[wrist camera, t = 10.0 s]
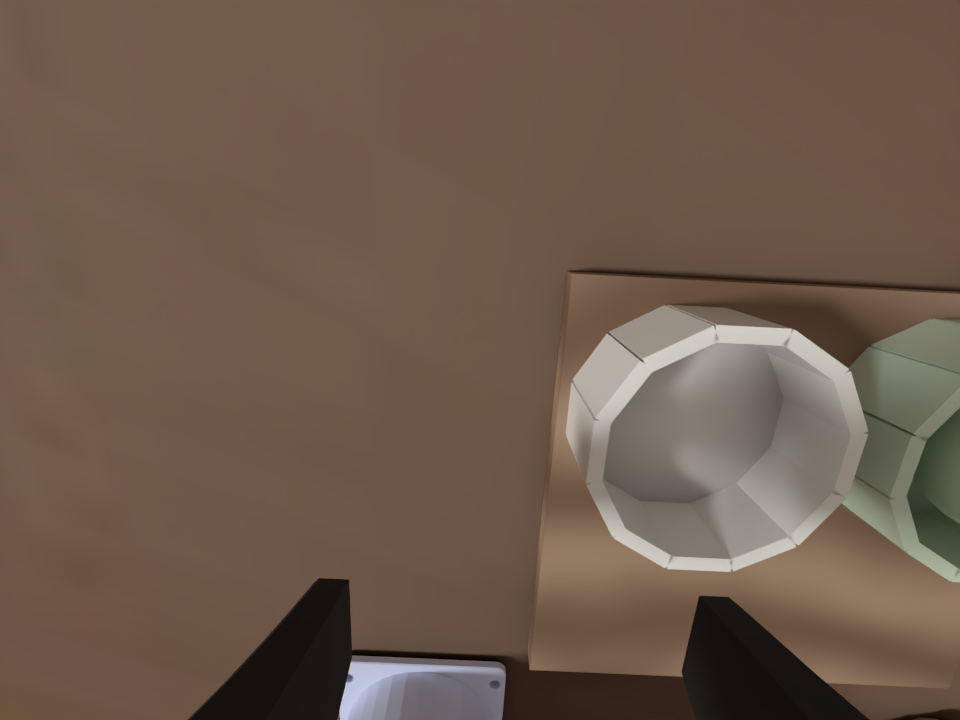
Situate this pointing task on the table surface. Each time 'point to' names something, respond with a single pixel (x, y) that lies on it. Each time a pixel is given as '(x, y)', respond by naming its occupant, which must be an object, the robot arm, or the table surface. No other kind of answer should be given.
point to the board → (763, 585)
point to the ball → (942, 468)
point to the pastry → (925, 719)
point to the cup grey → (713, 436)
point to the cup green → (907, 438)
